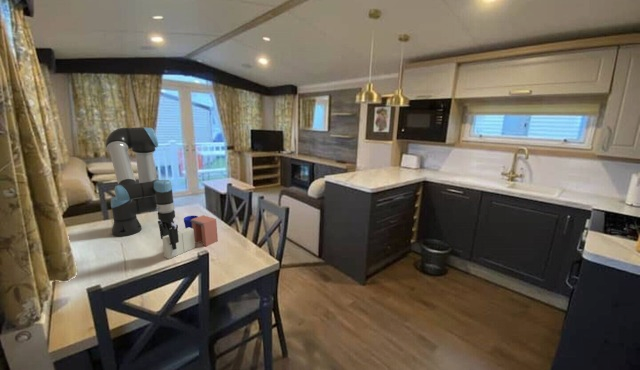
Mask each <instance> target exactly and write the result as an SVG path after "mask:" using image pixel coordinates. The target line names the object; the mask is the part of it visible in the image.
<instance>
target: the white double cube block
mask: <svg viewBox="0 0 640 370" xmlns="http://www.w3.org/2000/svg"><path fill="white" fill-rule="evenodd" d="M178 239H179V242H178V243H176V249H177V254H176V255H173V256H171V250H170V243H171V242H170V238H169V235H167V236H164V237H162V239H161V240H162V246H163V253H164V257H165V258H167V259H168V260H170V259H172V258H174V257H176V256H179V255H182V254H184V253H185V252H188V251H191V250H192V249H195V248H196V242H195V238H194V229H193V228H190V227H188V228H184V229H180V230H178Z"/></svg>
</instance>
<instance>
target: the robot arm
mask: <svg viewBox="0 0 640 370" xmlns="http://www.w3.org/2000/svg"><path fill="white" fill-rule="evenodd" d="M105 147H106V148H105V149H106V151H107V153H109V155H110V159H111V162H112V166H113V170H114V173H115V177H116V182H117V185H115V186H114V195H115V196H113V197H112V198H111V199H110V207H111V212H112V218H113V225H112V230H111V233H112V236H114V237H128V236H133V235H136V234H138V233H140V232H141V231H142V225H141V223H140V221H139V219H138V218H137V214H139V215H140V214H144V213H148V212H154V211H157V219H158V221H157V224H158V227H159V233H160V234H159V235H160V239H161V240H162V237H164V236H167V235H169V238H170V242H171V243H170V250H171V256H173V255H176V254H177V249H176V243H178V242H179V239H178V231H179V230H178V229H179V225H178V224H175V221H174V219H175V218H176V212H175V203H174V194H173V185H172V182H171V180H170V179H158V178H157V179H156V177H155V176H156V175H155V163H154V153H155V152H156V149H157V148H158V147H159V141H158V137H157V133H156V132H155V130H154V128H152V127H144V126H140V127H138V126H137V127H120V128H116V129H115V130H113V131H112V132H110V134H108V136H107V138H106V141H105ZM129 149H132V150H131V151H132V152H133V154H135V160H136V168H137V174H138V175H137V176H138V177H137V178H138V182H137V180H136V177H135V173H134V170H133V167H132V163H131V160H130V156H129V153H128V150H129Z"/></svg>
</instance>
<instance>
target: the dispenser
mask: <svg viewBox="0 0 640 370" xmlns="http://www.w3.org/2000/svg"><path fill="white" fill-rule="evenodd" d="M190 222H192V228H193V229H194V238H195V244H198V243H200V242H202V246H205V247H208V246H210V245H212V244H215V243H217V242H219V238H218V226H217V225H218V224H217V223H218V222H217V218H214V217H211V216H208V215H204V214H203V215H200V216H198V217H197V218H194V219H191V220H190Z"/></svg>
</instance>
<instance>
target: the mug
mask: <svg viewBox="0 0 640 370" xmlns="http://www.w3.org/2000/svg"><path fill="white" fill-rule="evenodd" d="M197 217H199V216H198V215H188V216H185V217H184V218H183V223H184V229H186V228H188V227H190V228H192V222H190V220H191V219H194V218H197Z"/></svg>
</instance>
